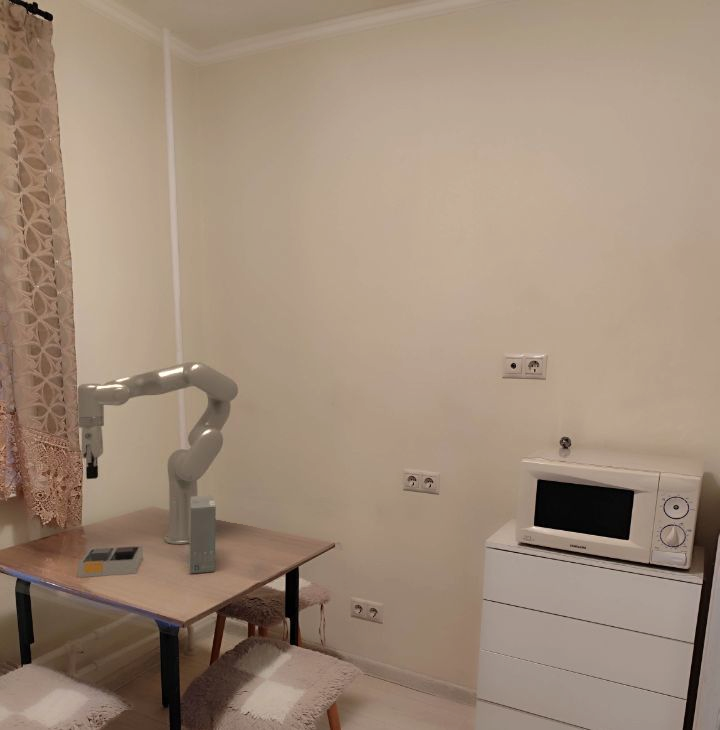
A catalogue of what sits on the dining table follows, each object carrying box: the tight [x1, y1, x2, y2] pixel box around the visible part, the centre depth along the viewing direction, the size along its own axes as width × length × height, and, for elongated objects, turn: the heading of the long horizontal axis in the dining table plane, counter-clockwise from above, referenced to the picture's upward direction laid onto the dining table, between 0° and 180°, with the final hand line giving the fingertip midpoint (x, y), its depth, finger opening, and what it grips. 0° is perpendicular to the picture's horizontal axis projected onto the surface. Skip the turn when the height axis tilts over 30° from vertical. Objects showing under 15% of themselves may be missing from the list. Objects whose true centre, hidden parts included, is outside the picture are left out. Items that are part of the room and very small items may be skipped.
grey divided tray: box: [77, 545, 144, 578], centre depth 177 cm, size 16×13×5 cm
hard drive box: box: [188, 494, 217, 574], centre depth 180 cm, size 16×8×20 cm, turn 17°
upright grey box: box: [92, 547, 112, 561], centre depth 177 cm, size 5×4×4 cm
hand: (92, 478), depth 187 cm, fingers closed
